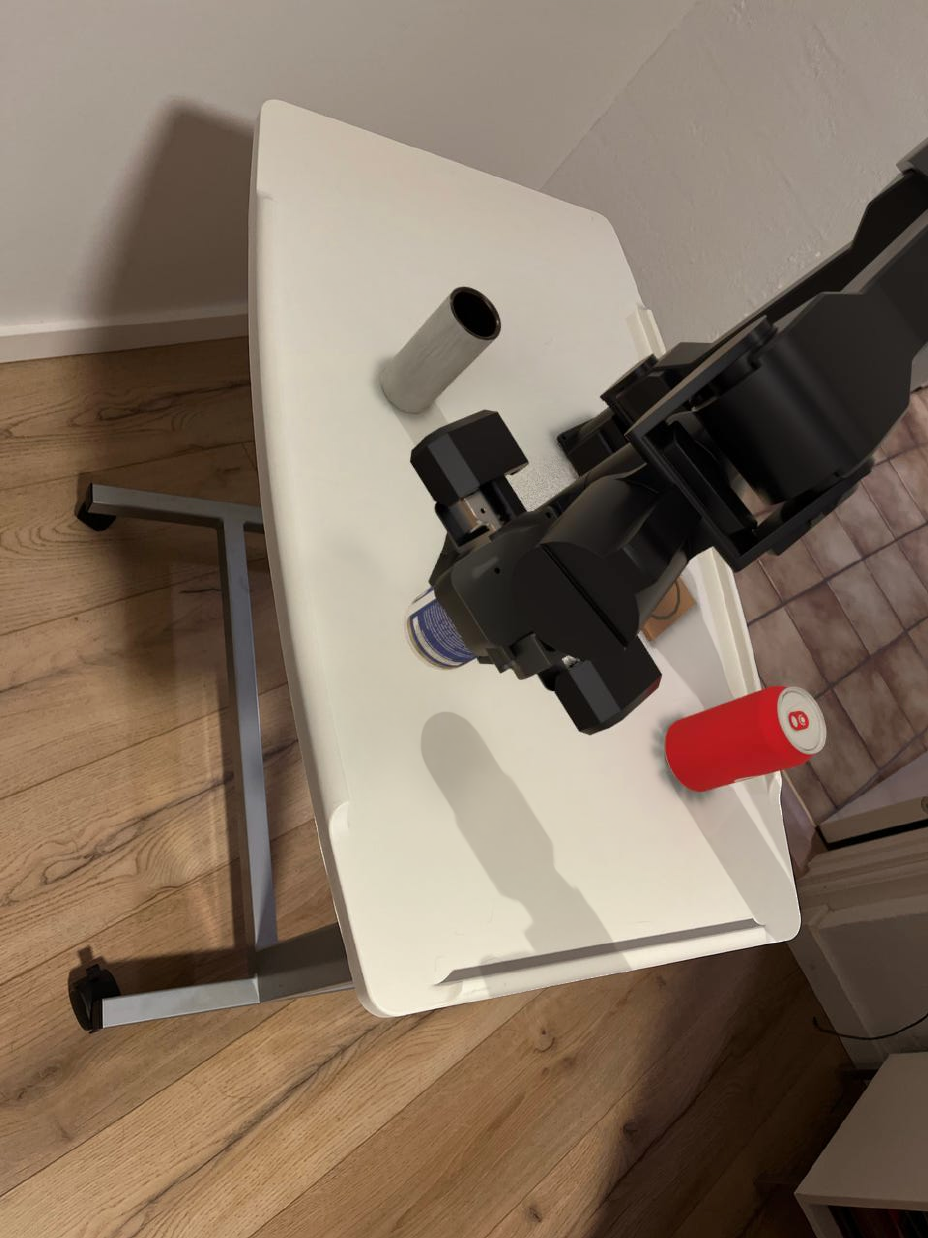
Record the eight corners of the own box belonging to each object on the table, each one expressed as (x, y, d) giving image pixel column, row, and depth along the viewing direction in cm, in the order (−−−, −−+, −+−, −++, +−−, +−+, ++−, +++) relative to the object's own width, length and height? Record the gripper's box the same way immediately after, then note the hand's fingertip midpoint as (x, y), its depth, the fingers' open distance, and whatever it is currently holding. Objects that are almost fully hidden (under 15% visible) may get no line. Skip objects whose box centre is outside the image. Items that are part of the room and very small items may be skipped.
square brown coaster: (647, 532, 84) (651, 530, 84) (692, 605, 84) (697, 603, 84) (600, 564, 79) (604, 561, 78) (649, 641, 79) (653, 639, 78)
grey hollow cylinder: (371, 389, 71) (441, 309, 63) (392, 354, 73) (461, 274, 66) (417, 424, 72) (491, 351, 64) (435, 389, 75) (509, 315, 67)
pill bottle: (463, 685, 59) (557, 636, 52) (393, 653, 57) (480, 596, 49) (476, 615, 62) (567, 559, 54) (410, 582, 60) (495, 518, 52)
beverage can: (719, 788, 77) (841, 755, 68) (671, 799, 74) (793, 766, 64) (697, 717, 79) (813, 676, 70) (649, 725, 75) (765, 683, 66)
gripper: (420, 395, 40) (281, 539, 52) (642, 751, 40) (453, 813, 52) (563, 343, 47) (412, 480, 59) (752, 644, 47) (563, 721, 59)
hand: (458, 619), depth 57 cm, fingers closed on pill bottle, 5 cm apart
